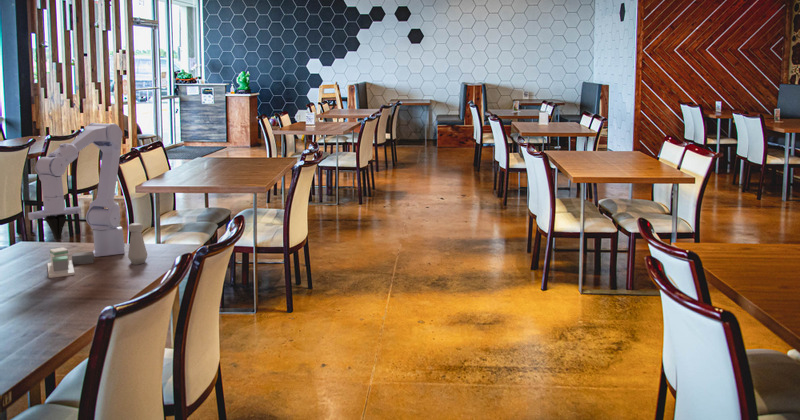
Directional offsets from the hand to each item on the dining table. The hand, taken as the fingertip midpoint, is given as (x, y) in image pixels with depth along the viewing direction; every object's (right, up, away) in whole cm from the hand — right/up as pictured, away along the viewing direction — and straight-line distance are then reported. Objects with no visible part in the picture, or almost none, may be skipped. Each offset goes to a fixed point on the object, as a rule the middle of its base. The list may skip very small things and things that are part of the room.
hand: (57, 239), depth 208 cm
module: (0, -8, +1) cm, 8 cm away
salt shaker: (+21, -8, +10) cm, 25 cm away
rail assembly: (0, -10, +2) cm, 10 cm away
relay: (+3, -8, +11) cm, 14 cm away
